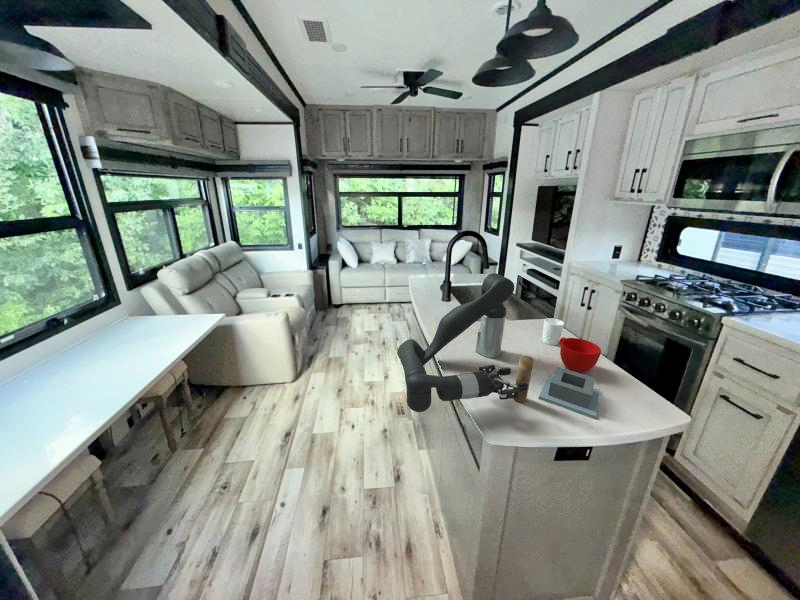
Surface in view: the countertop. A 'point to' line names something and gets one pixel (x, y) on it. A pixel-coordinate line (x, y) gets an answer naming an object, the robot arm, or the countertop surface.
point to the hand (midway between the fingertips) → (518, 378)
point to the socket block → (571, 392)
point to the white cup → (552, 331)
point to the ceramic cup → (579, 354)
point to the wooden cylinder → (524, 376)
